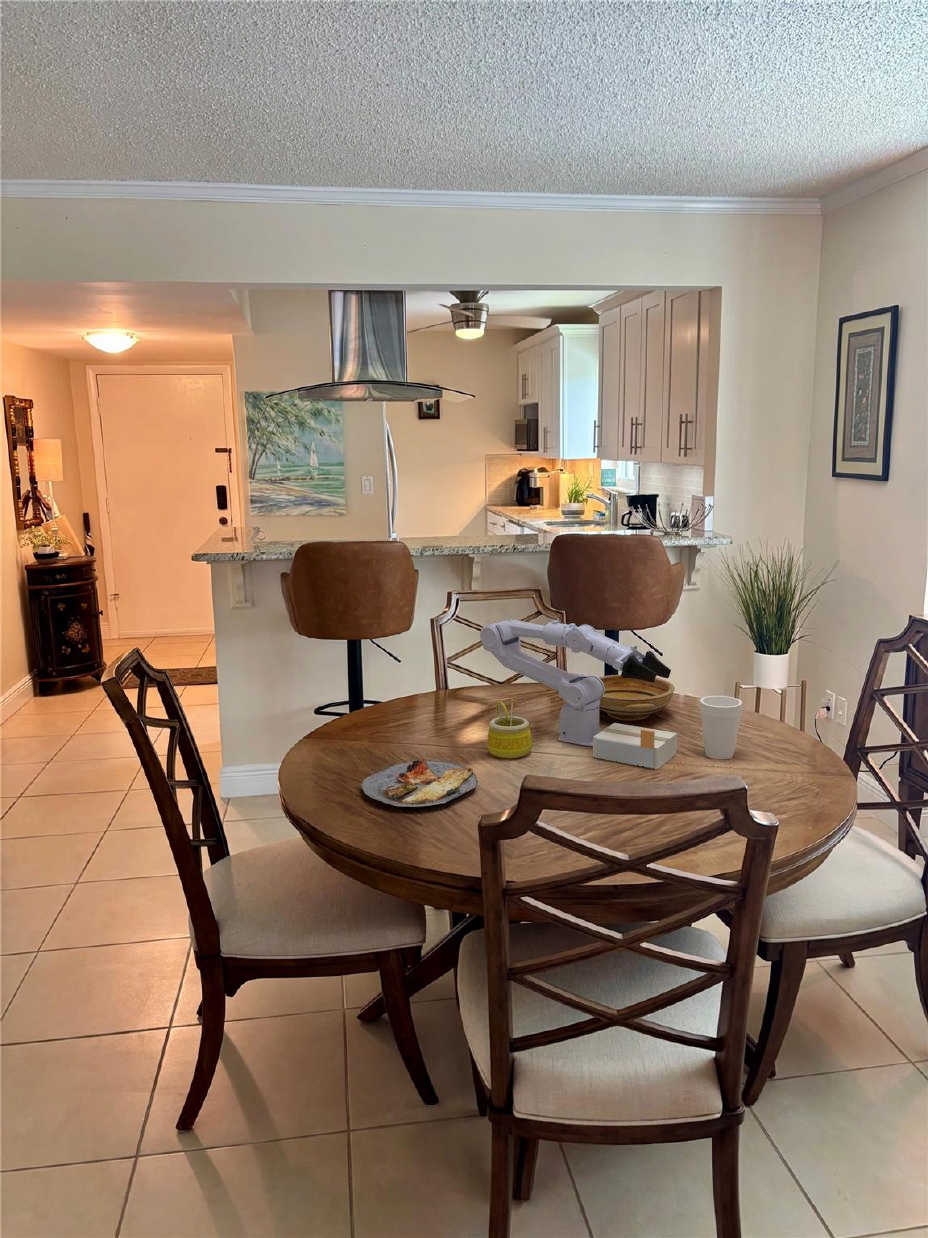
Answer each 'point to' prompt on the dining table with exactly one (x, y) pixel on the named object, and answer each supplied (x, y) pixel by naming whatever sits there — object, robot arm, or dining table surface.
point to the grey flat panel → (628, 750)
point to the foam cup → (720, 725)
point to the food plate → (420, 783)
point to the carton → (632, 735)
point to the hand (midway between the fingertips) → (662, 676)
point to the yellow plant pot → (509, 735)
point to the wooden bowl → (634, 697)
